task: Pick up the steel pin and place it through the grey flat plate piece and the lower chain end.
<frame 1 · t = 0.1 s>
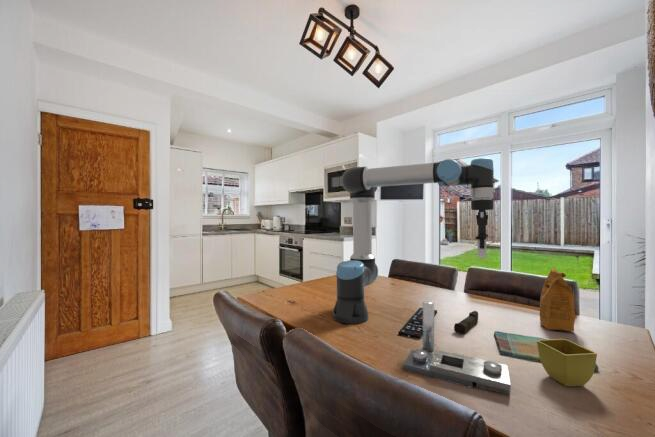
hand: (482, 255, 106), 28 cm above the table, tool pointing down, fingers open, 13 cm apart
coffee package: (556, 327, 107), on the table
dish towel: (539, 353, 88), on the table
lower chain end: (452, 372, 76), on the table
remote control: (419, 324, 112), on the table
steel pin: (428, 349, 90), on the table
flower pot: (565, 381, 72), on the table
grey flat plate piece: (452, 372, 76), on the table
hand tool: (467, 327, 108), on the table
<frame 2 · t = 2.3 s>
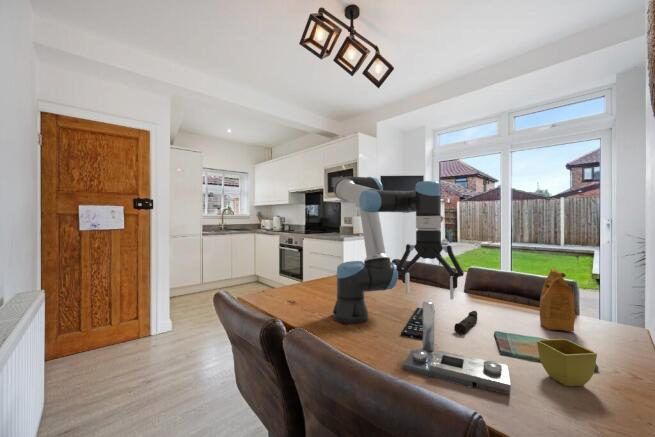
hand: (428, 295, 89), 17 cm above the table, tool pointing down, fingers open, 13 cm apart
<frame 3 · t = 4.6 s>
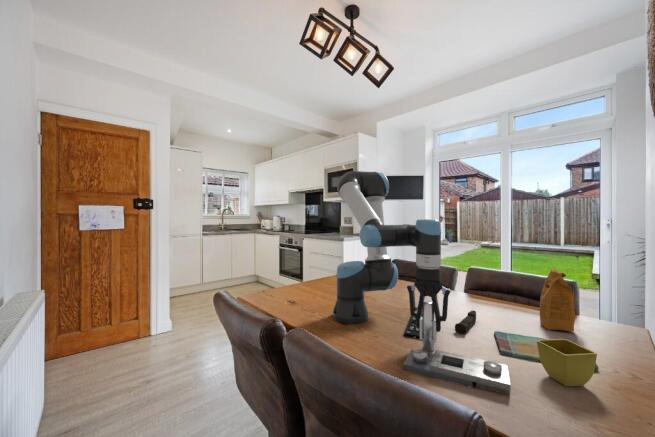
hand: (428, 339, 90), 3 cm above the table, tool pointing down, fingers closed on steel pin, 3 cm apart
steel pin: (428, 349, 90), on the table, touching gripper
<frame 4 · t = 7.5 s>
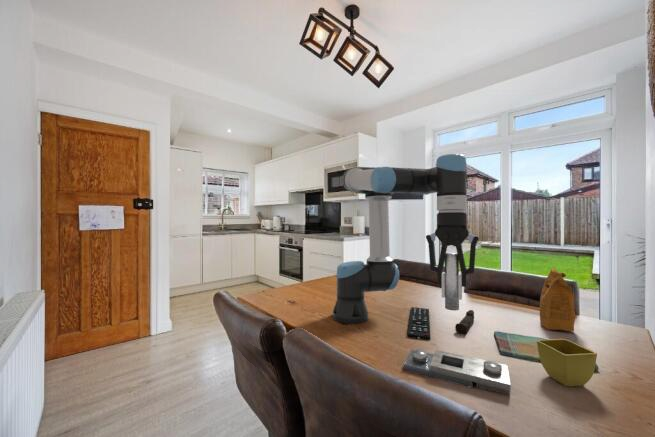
hand: (451, 297, 76), 21 cm above the table, tool pointing down, fingers closed on steel pin, 3 cm apart
steel pin: (452, 308, 76), point 18 cm above the table, touching gripper
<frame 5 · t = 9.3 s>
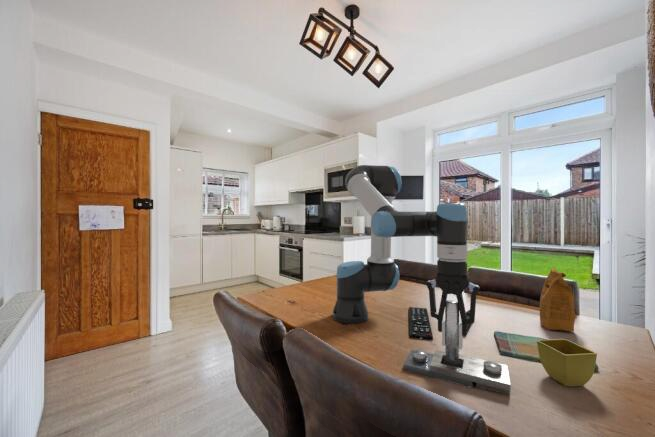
hand: (452, 345, 76), 7 cm above the table, tool pointing down, fingers closed on steel pin, 3 cm apart
steel pin: (452, 356, 76), point 4 cm above the table, touching gripper
when the fingers open (4 cm above the table, at t = 10.8 s): steel pin stays where it is, resting in lower chain end.
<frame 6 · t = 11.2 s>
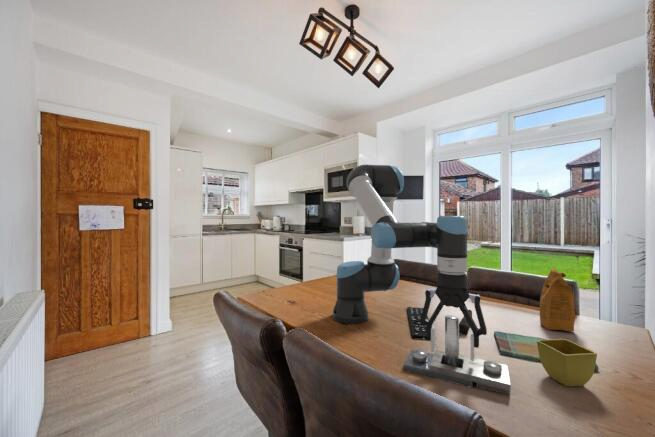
hand: (452, 354, 76), 5 cm above the table, tool pointing down, fingers open, 9 cm apart
steel pin: (452, 372, 76), resting in lower chain end
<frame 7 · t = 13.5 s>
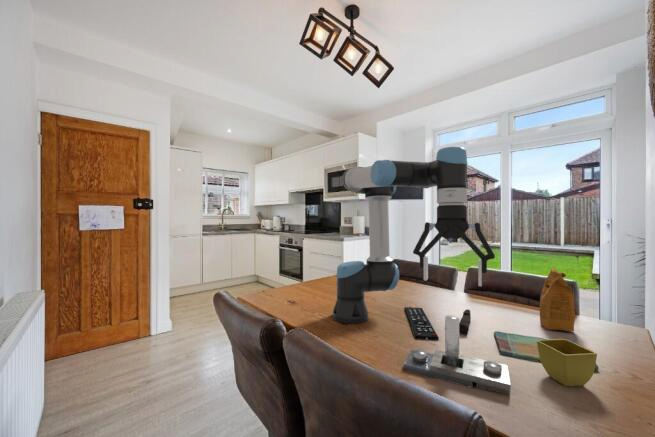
hand: (451, 282, 76), 25 cm above the table, tool pointing down, fingers open, 13 cm apart
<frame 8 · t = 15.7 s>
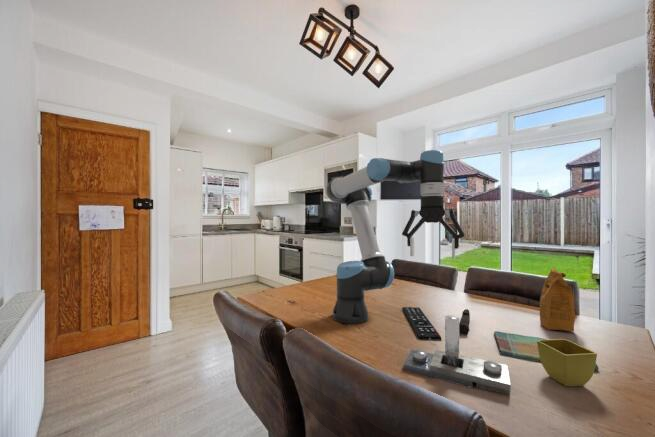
hand: (432, 257, 96), 29 cm above the table, tool pointing down, fingers open, 13 cm apart
at the end: steel pin 0.0 cm from the lower chain end (horizontally); steel pin resting in lower chain end; steel pin tilted 0° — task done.
